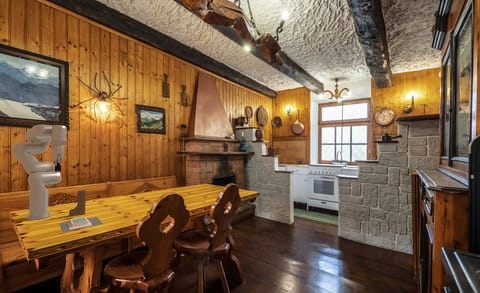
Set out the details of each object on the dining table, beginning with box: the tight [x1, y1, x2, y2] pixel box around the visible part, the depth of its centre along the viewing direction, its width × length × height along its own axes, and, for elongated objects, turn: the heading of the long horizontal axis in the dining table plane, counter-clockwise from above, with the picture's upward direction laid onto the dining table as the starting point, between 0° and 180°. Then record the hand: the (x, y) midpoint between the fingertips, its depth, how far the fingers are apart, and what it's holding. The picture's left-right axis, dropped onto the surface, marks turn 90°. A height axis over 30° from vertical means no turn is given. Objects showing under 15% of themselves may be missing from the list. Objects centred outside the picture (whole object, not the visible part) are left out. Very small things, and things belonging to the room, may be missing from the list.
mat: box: [59, 216, 104, 233], centre depth 134 cm, size 20×20×1 cm
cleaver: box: [68, 189, 87, 218], centre depth 152 cm, size 9×4×18 cm, turn 132°
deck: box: [69, 217, 89, 227], centre depth 134 cm, size 2×8×10 cm
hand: (57, 171), depth 140 cm, fingers closed
